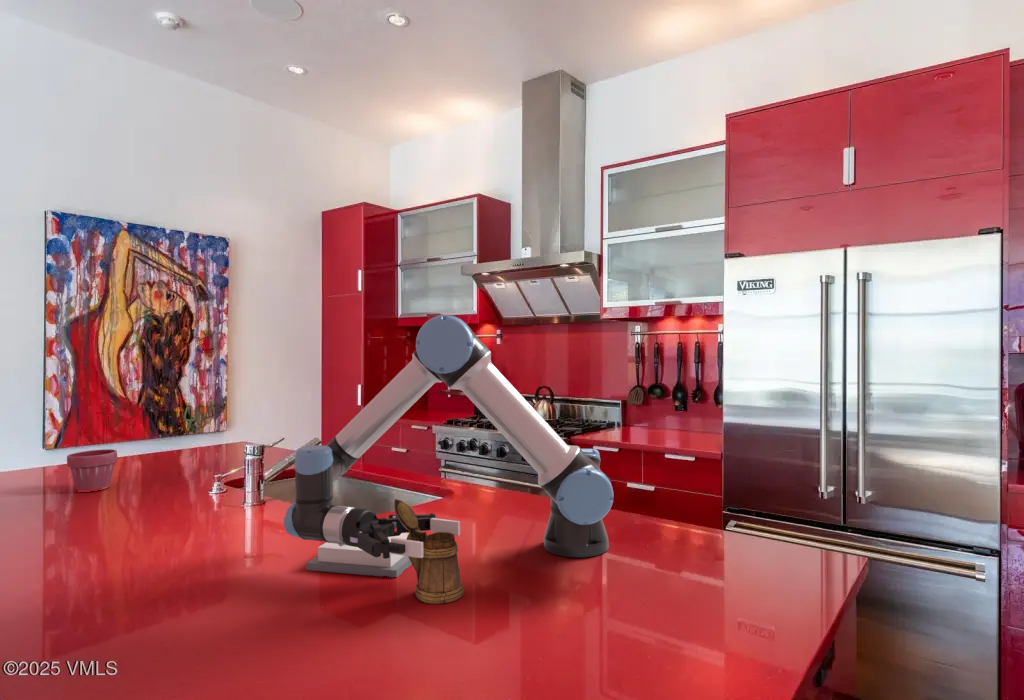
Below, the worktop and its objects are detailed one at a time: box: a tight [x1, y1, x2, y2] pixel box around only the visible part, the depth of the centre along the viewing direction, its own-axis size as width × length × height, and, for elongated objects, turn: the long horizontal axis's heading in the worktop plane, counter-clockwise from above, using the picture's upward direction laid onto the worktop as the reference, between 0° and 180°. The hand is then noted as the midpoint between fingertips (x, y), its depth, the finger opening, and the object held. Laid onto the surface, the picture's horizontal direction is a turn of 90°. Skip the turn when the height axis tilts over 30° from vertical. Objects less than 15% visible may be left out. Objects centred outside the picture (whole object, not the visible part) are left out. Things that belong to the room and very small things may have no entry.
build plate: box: [305, 532, 412, 578], centre depth 133 cm, size 21×16×4 cm
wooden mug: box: [393, 498, 465, 605], centre depth 115 cm, size 9×14×18 cm, turn 78°
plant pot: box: [66, 448, 118, 490], centre depth 205 cm, size 14×14×13 cm
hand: (441, 538), depth 114 cm, fingers open, 13 cm apart
